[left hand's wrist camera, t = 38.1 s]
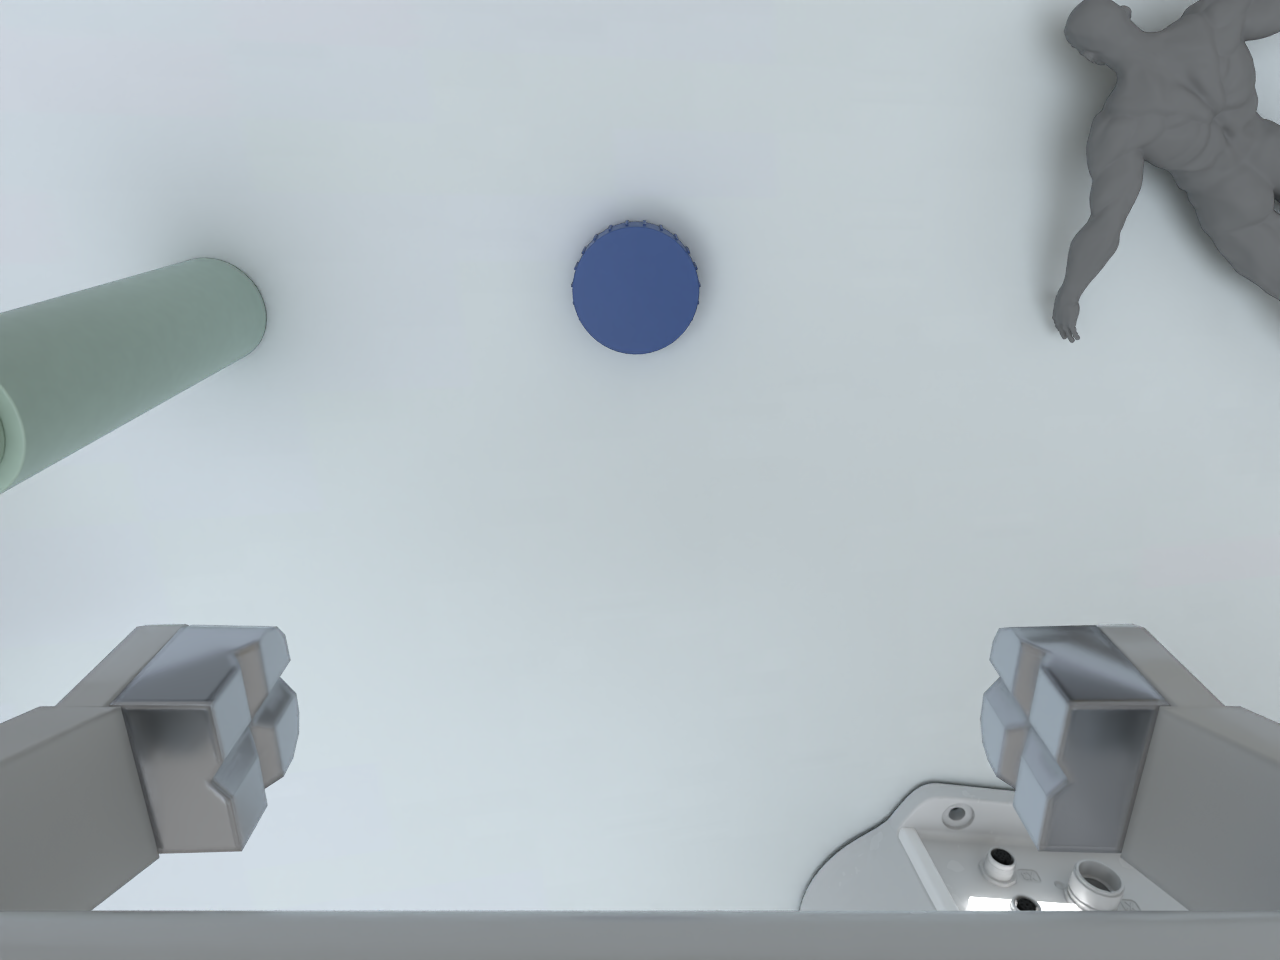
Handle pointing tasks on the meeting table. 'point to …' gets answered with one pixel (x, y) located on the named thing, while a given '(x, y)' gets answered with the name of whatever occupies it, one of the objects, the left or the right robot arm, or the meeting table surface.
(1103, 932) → the left robot arm
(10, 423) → the jar
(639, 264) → the lid
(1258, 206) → the figurine
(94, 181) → the meeting table surface
